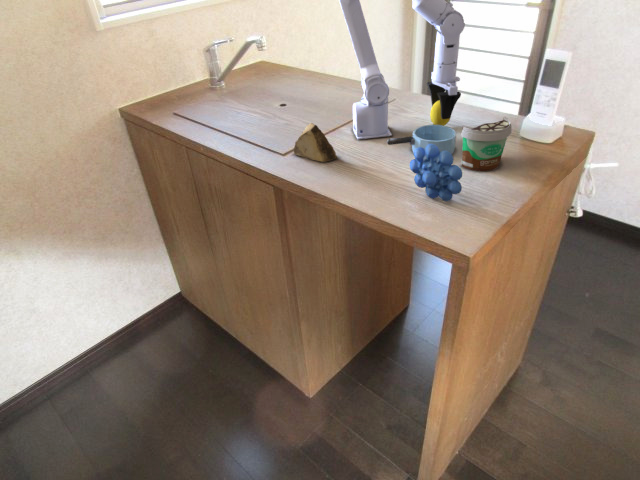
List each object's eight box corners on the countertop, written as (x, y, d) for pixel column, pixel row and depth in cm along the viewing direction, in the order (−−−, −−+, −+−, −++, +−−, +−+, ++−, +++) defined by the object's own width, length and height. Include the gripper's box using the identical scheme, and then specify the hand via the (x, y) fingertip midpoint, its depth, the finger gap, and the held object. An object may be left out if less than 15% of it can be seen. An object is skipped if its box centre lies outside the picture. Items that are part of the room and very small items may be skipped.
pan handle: (413, 141, 112) (414, 134, 111) (415, 144, 111) (416, 137, 110) (386, 144, 112) (386, 137, 111) (387, 147, 110) (387, 140, 109)
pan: (418, 160, 109) (420, 143, 106) (407, 143, 117) (408, 127, 114) (460, 156, 109) (462, 138, 106) (446, 139, 118) (447, 122, 115)
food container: (473, 178, 100) (480, 136, 94) (456, 168, 104) (461, 127, 98) (517, 165, 103) (526, 124, 97) (498, 155, 108) (505, 115, 102)
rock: (281, 148, 114) (298, 156, 106) (294, 116, 113) (313, 122, 105) (314, 163, 121) (332, 172, 113) (327, 133, 119) (347, 140, 111)
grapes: (398, 199, 95) (400, 147, 88) (413, 186, 99) (417, 135, 92) (449, 215, 89) (456, 160, 81) (464, 200, 93) (471, 146, 86)
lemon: (450, 131, 121) (453, 102, 116) (429, 131, 122) (431, 102, 118) (449, 124, 125) (452, 95, 121) (429, 123, 127) (431, 95, 122)
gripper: (472, 67, 108) (465, 121, 116) (451, 53, 119) (446, 102, 127) (443, 70, 107) (438, 124, 115) (425, 55, 119) (422, 105, 127)
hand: (441, 113), depth 121 cm, fingers open, 7 cm apart
